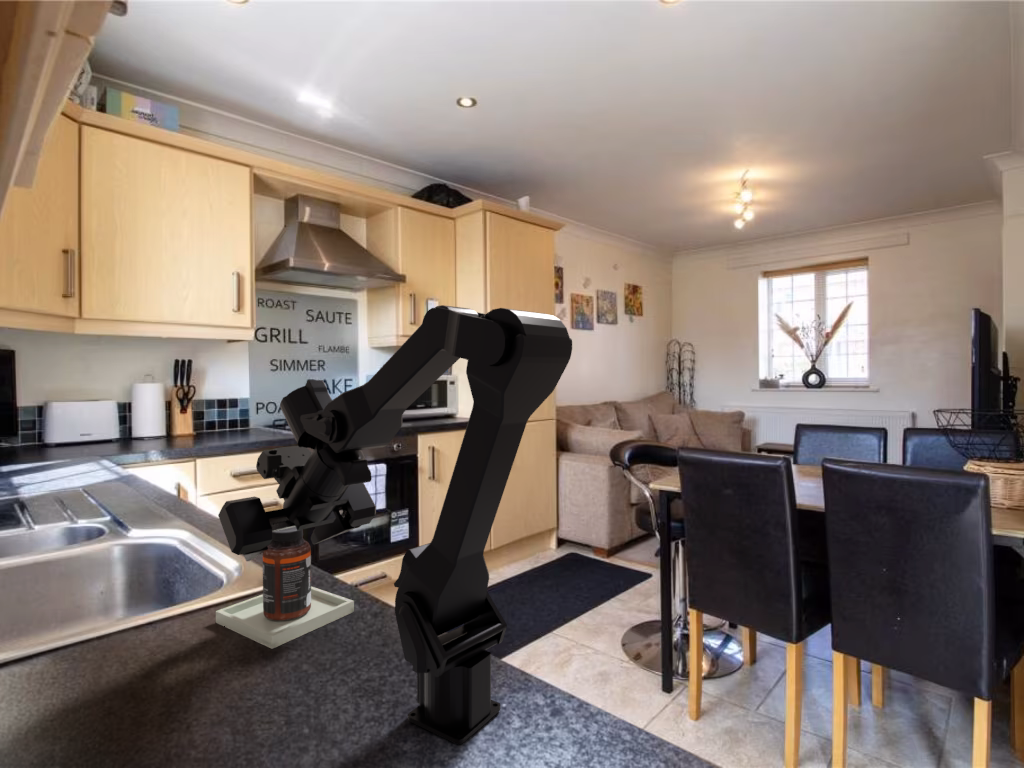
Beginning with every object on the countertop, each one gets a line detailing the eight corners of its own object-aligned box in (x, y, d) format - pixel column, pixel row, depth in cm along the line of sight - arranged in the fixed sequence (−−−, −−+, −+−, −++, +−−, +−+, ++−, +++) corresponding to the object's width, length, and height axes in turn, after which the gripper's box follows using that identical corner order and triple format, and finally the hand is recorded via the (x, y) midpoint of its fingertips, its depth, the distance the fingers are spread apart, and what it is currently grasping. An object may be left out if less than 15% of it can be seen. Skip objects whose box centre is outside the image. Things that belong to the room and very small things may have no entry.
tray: (354, 611, 76) (353, 600, 76) (272, 648, 66) (271, 636, 66) (298, 591, 83) (297, 581, 83) (215, 622, 72) (215, 611, 72)
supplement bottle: (321, 608, 75) (321, 525, 75) (285, 626, 70) (285, 537, 70) (289, 600, 78) (289, 519, 78) (252, 617, 73) (252, 530, 72)
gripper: (363, 422, 78) (321, 489, 85) (224, 433, 64) (188, 513, 71) (399, 486, 73) (351, 552, 81) (256, 513, 59) (214, 590, 66)
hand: (281, 549), depth 75 cm, fingers open, 9 cm apart
